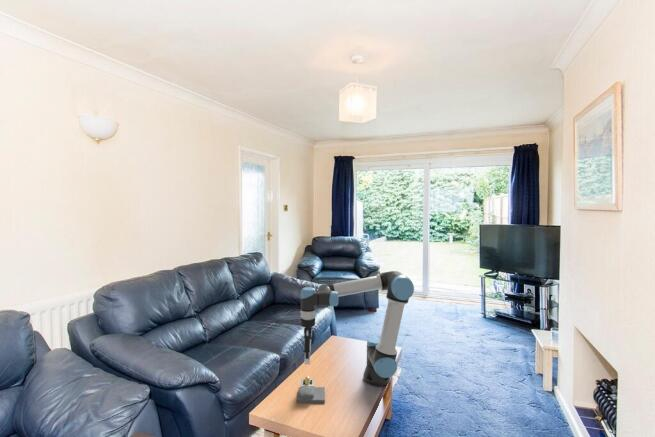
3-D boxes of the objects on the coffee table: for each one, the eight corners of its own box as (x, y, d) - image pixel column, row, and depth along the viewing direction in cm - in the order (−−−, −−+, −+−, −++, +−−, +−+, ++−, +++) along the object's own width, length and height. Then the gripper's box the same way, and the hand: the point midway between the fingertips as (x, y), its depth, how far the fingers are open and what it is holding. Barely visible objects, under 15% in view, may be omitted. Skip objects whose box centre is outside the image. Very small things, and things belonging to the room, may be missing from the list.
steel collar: (314, 389, 182) (314, 378, 182) (314, 397, 175) (314, 385, 175) (301, 389, 182) (301, 378, 182) (300, 397, 175) (300, 385, 175)
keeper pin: (310, 391, 180) (310, 375, 179) (310, 394, 177) (310, 378, 177) (305, 391, 180) (305, 375, 179) (304, 394, 177) (304, 378, 177)
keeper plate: (324, 389, 185) (324, 387, 185) (324, 402, 173) (324, 400, 173) (298, 389, 185) (298, 387, 184) (297, 402, 173) (297, 400, 172)
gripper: (302, 309, 189) (302, 347, 190) (299, 326, 164) (298, 369, 165) (315, 310, 189) (315, 347, 190) (314, 326, 164) (314, 369, 165)
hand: (307, 357), depth 177 cm, fingers open, 13 cm apart
